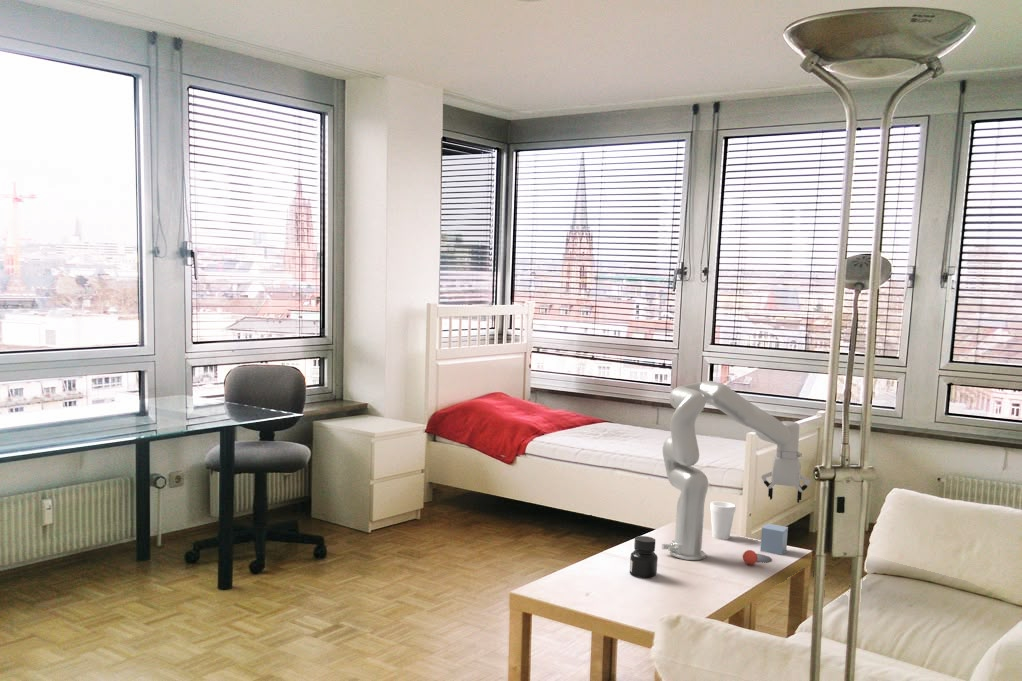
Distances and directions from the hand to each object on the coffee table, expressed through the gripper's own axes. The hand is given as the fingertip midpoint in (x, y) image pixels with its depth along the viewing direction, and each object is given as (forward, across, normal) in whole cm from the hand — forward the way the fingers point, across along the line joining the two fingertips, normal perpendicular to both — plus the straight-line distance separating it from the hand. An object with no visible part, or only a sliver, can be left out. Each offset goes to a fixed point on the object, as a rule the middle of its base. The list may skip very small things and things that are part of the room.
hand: (784, 500), depth 316 cm
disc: (+19, +8, +14) cm, 25 cm away
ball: (+16, +10, +23) cm, 30 cm away
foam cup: (+19, +23, -7) cm, 31 cm away
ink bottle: (+18, +42, +52) cm, 70 cm away
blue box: (+19, +3, +1) cm, 19 cm away
